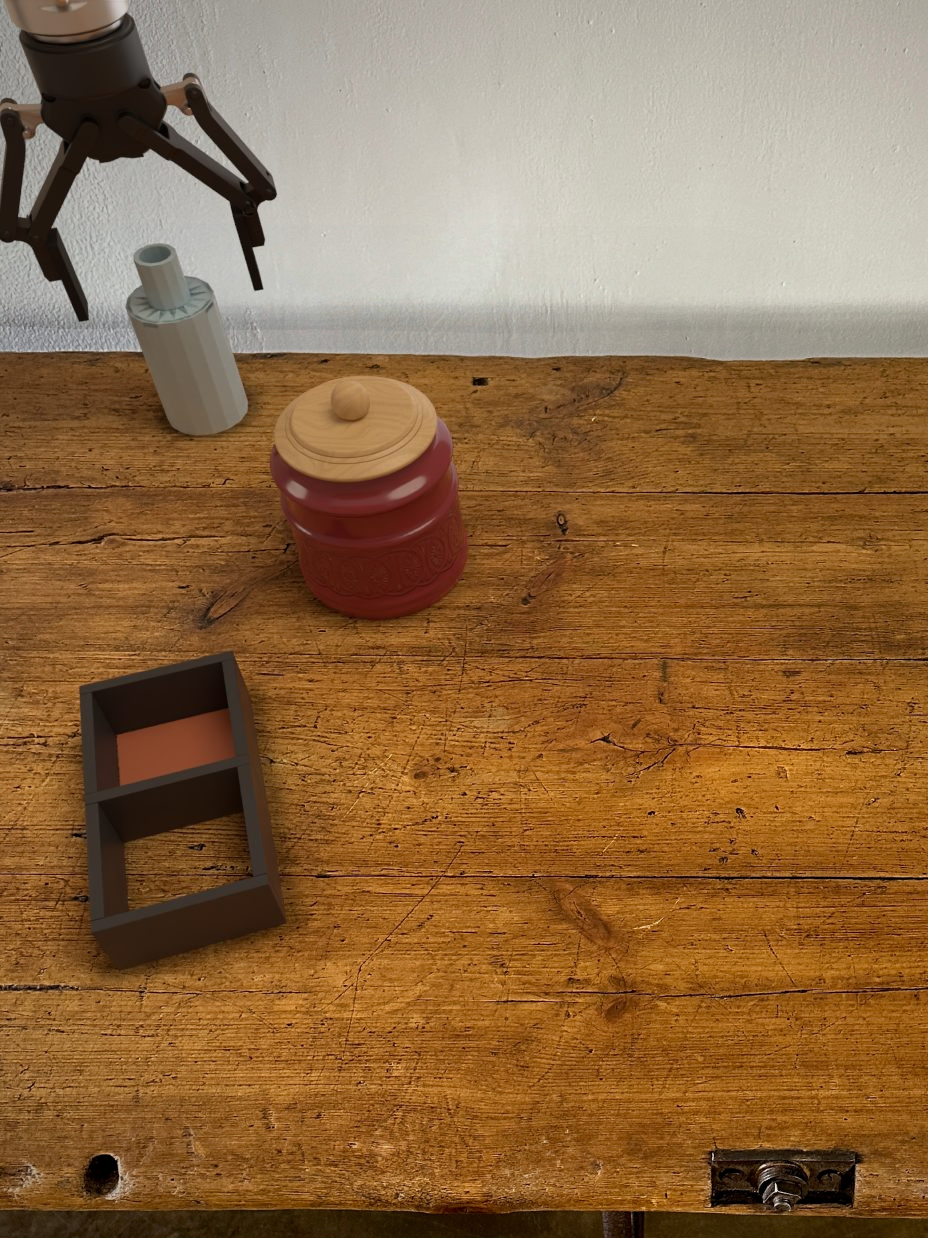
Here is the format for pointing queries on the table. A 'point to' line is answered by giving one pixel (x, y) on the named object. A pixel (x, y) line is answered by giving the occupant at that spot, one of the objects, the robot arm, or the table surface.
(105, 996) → the table surface
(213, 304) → the water bottle
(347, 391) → the kitchen canister
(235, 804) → the frame
